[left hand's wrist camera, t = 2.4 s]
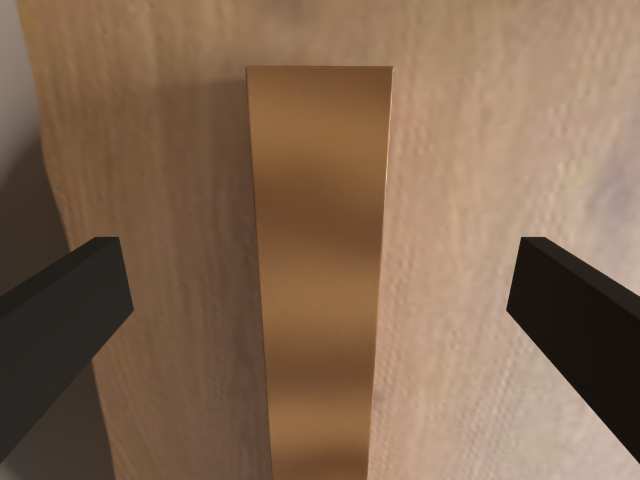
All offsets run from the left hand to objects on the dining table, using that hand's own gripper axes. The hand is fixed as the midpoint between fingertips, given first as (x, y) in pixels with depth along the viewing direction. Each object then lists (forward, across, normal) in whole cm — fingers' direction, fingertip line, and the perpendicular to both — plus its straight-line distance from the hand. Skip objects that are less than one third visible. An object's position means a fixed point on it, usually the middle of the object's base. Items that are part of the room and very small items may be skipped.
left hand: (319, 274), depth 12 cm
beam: (+12, 0, -21) cm, 24 cm away
